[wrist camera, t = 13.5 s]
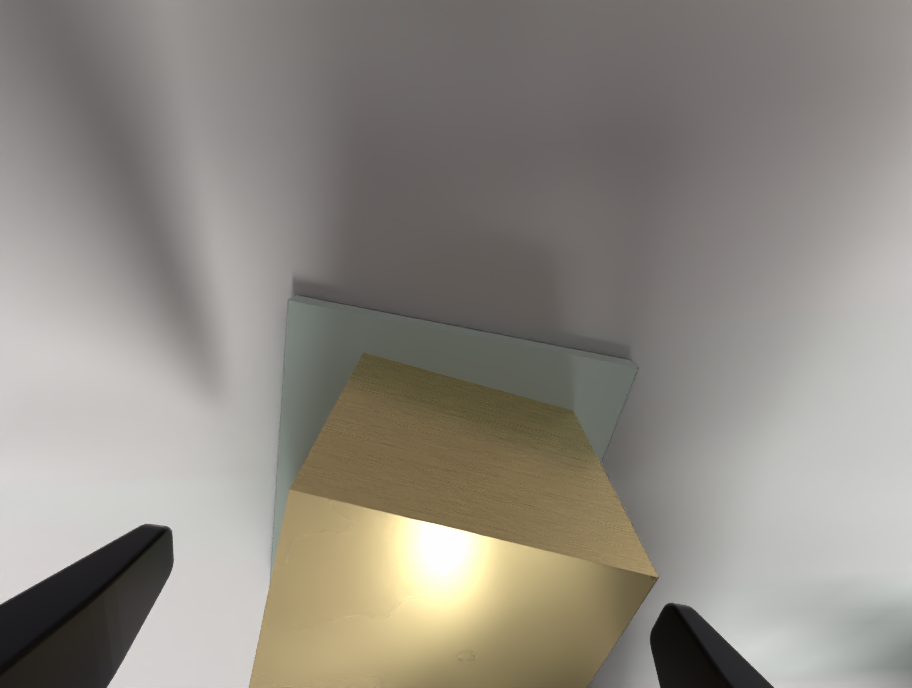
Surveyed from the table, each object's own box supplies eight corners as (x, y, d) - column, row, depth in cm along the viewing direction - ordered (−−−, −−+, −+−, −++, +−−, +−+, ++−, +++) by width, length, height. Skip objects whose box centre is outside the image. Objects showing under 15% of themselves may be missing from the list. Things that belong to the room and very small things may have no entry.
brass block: (483, 605, 11) (497, 825, 7) (310, 567, 10) (229, 782, 7) (573, 410, 9) (658, 577, 5) (363, 352, 8) (289, 489, 5)
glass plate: (530, 620, 12) (533, 635, 11) (275, 583, 11) (268, 597, 11) (630, 360, 9) (638, 367, 9) (295, 295, 8) (288, 300, 8)
